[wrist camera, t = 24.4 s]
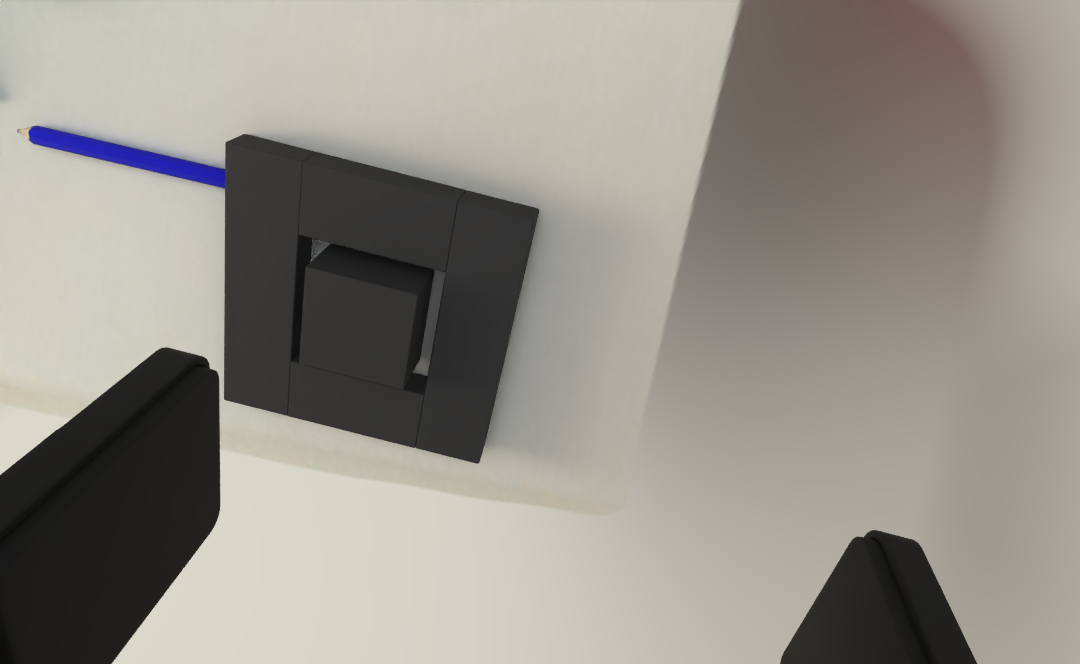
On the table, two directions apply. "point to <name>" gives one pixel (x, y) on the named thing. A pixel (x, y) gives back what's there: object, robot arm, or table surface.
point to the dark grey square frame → (383, 229)
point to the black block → (364, 315)
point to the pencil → (125, 155)
